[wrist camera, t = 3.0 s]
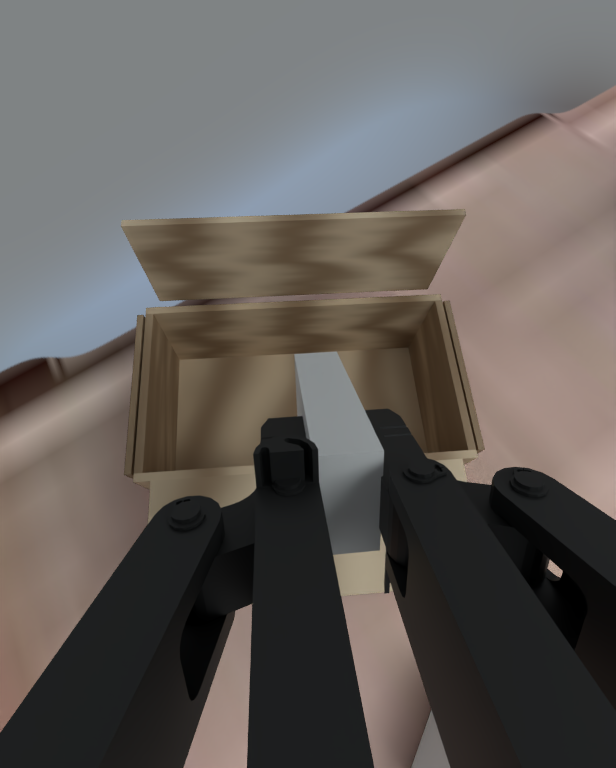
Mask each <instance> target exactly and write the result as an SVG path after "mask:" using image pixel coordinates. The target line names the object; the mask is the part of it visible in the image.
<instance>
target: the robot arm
mask: <svg viewBox="0 0 616 768" xmlns="http://www.w3.org/2000/svg"><path fill="white" fill-rule="evenodd" d="M294 358H295V378H296V399H297V416H294V417H280V418H268V419H267V421H266V422H265V423H264V424H263V426H262V427H261V440H260V444H259V445H258V446H257V447H256V448H255V450H254V453H253V459H254V469H255V479H256V489H255V491H254V492H253V493H252V494H250V495H249V496H248V497H246V498H245V499H243V500H241V501H239V502H237V503H234V504H231V505H228V506H225V507H222V508H220V505H219V503H218V502H216V501H215V500H213V499H212V498H210V497H205V496H200V495H198V496H186V497H183V498H179V499H176V500H174V501H172V502H170V503H168V504H166V505H165V506H163V507H162V508H161V509H160V510H159V511H158V512H157V513H156V514H155V515H154V516H153V518H152V519H151V521H150V522H149V523H148V525H147V526H146V528H145V529H144V531H143V532H142V533H141V535H140V536H139V538H138V539H137V540H136V542H135V543H134V545H133V546H132V548H131V549H130V550H129V552H128V553H127V555H126V556H125V557H124V559H123V560H122V562H121V563H120V564H119V566H118V567H117V569H116V570H115V572H114V573H113V574H112V576H111V577H110V579H109V580H108V581H107V583H106V584H105V586H104V587H103V589H102V590H101V591H100V593H99V594H98V596H97V597H96V598H95V600H94V601H93V603H92V604H91V605H90V607H89V608H88V610H87V611H86V613H85V614H84V615H83V617H82V618H81V620H80V621H79V622H78V624H77V625H76V627H75V628H74V630H73V631H72V632H71V634H70V635H69V637H68V638H67V639H66V641H65V642H64V644H63V645H62V646H61V648H60V649H59V651H58V652H57V654H56V655H55V656H54V658H53V659H52V661H51V662H50V663H49V665H48V666H47V668H46V669H45V671H44V672H43V673H42V675H41V676H40V678H39V679H38V680H37V682H36V683H35V685H34V686H33V687H32V689H31V690H30V692H29V693H28V695H27V696H26V697H25V699H24V700H23V702H22V703H21V704H20V706H19V707H18V709H17V710H16V712H15V713H14V714H13V716H12V717H11V719H10V720H9V721H8V723H7V724H6V726H5V727H4V728H3V730H2V731H1V733H0V768H183V767H184V764H185V761H186V758H187V755H188V752H189V749H190V746H191V743H192V740H193V738H194V735H195V732H196V729H197V726H198V723H199V720H200V717H201V714H202V711H203V708H204V705H205V702H206V699H207V696H208V694H209V691H210V688H211V685H212V682H213V679H214V676H215V673H216V670H217V667H218V664H219V661H220V658H221V655H222V652H223V649H224V647H225V644H226V641H227V638H228V635H229V632H230V629H231V626H232V623H233V620H234V616H235V610H238V609H240V608H243V607H245V606H248V605H250V604H252V603H253V605H252V635H251V665H250V695H249V725H248V755H247V768H374V764H373V759H372V754H371V749H370V743H369V738H368V733H367V728H366V723H365V718H364V712H363V707H362V702H361V697H360V692H359V686H358V681H357V676H356V671H355V666H354V661H353V655H352V650H351V645H350V640H349V635H348V629H347V624H346V619H345V614H344V609H343V604H342V598H341V593H340V588H339V583H338V578H337V572H336V567H335V562H334V557H333V555H337V554H347V553H358V552H368V551H379V550H380V537H381V535H382V538H383V541H384V544H385V547H386V554H385V574H384V593H389V591H390V583H391V586H392V589H393V592H394V595H395V598H396V601H397V604H398V608H399V611H400V614H401V617H402V620H403V623H404V626H405V629H406V632H407V635H408V638H409V641H410V645H411V648H412V651H413V654H414V657H415V660H416V663H417V666H418V669H419V672H420V675H421V679H422V682H423V685H424V688H425V691H426V694H427V697H428V700H429V703H430V706H431V709H432V712H433V716H434V719H435V722H436V725H437V728H438V731H439V734H440V737H441V740H442V743H443V746H444V749H445V753H446V756H447V759H448V762H449V765H450V768H616V520H614V519H613V518H611V517H610V516H608V515H607V514H605V513H604V512H602V511H601V510H599V509H598V508H596V507H595V506H593V505H592V504H591V503H589V502H588V501H586V500H585V499H583V498H582V497H580V496H579V495H577V494H576V493H574V492H573V491H571V490H570V489H568V488H567V487H565V486H564V485H562V484H561V483H559V482H558V481H556V480H555V479H553V478H551V477H549V476H548V475H546V474H544V473H542V472H538V471H535V470H532V469H529V468H522V467H511V468H504V469H502V470H499V471H497V472H496V473H495V475H494V477H493V479H492V485H486V484H478V483H470V482H464V481H459V480H456V478H455V477H454V475H453V474H452V472H451V471H450V470H449V469H448V468H447V467H446V466H445V465H443V464H441V463H439V462H437V461H435V460H432V459H428V458H427V457H426V456H425V454H424V452H423V451H422V449H421V448H420V446H419V444H418V443H417V441H416V440H415V438H414V437H413V435H411V432H410V430H409V429H408V427H406V424H405V422H404V421H403V419H402V418H401V416H400V415H398V414H396V413H395V412H393V411H392V410H390V409H388V408H387V409H373V410H364V408H363V406H362V404H361V401H360V399H359V397H358V395H357V393H356V391H355V389H354V387H353V385H352V383H351V381H350V378H349V376H348V374H347V372H346V370H345V368H344V366H343V364H342V362H341V360H340V358H339V355H338V353H337V352H320V353H304V354H294ZM549 560H551V561H552V562H553V563H555V564H556V565H557V566H558V567H559V568H560V569H561V570H563V573H562V576H561V578H560V577H557V576H556V575H554V574H553V573H552V572H551V571H550V570H548V569H547V568H548V564H549Z"/></svg>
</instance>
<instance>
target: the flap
mask: <svg viewBox="0 0 616 768" xmlns="http://www.w3.org/2000/svg"><path fill="white" fill-rule="evenodd" d="M465 216H466V213H465V209H457V210H426V211H395V212H364V213H337V214H336V213H334V214H304V215H272V216H244V217H243V216H242V217H213V218H212V217H211V218H181V219H149V220H122V222H121V227H122V229H123V231H124V233H125V235H126V237H127V239H128V241H129V242H130V244H131V246H132V248H133V250H134V252H135V254H136V256H137V258H138V260H139V262H140V264H141V266H142V268H143V269H144V271H145V273H146V275H147V277H148V279H149V281H150V283H151V285H152V287H153V289H154V291H155V293H156V294H157V296H158V298H159V300H160V301H171V300H195V299H218V298H240V297H262V296H285V295H307V294H329V293H352V292H374V291H396V290H419V289H428V287H429V285H430V283H431V282H432V280H433V278H434V276H435V274H436V272H437V270H438V268H439V266H440V264H441V262H442V260H443V258H444V256H445V254H446V252H447V251H448V249H449V247H450V245H451V243H452V241H453V239H454V237H455V235H456V233H457V231H458V229H459V227H460V225H461V223H462V222H463V220H464V218H465Z"/></svg>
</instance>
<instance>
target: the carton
mask: <svg viewBox="0 0 616 768" xmlns="http://www.w3.org/2000/svg"><path fill="white" fill-rule="evenodd" d="M320 352H337V353H338V355H339V358H340V360H341V362H342V364H343V366H344V368H345V370H346V372H347V374H348V376H349V378H350V381H351V383H352V385H353V387H354V389H355V391H356V393H357V395H358V397H359V399H360V401H361V404H362V406H363V408H364V410H373V409H387V408H388V409H390V410H392V411H393V412H395V413H396V414H398V415H400V416H401V418H402V419H403V421H404V422H405V424H406V427H408V429H409V430H410V432H411V435H413V437H414V438H415V440H416V441H417V443H418V444H419V446H420V448H421V449H422V451H423V452H424V454H425V456H426V457H427V458H428V459H432V460H435V461H437V462H439V463H441V464H443V465H445V466H446V467H447V468H448V469H449V470H450V471H451V472H452V474H453V475H454V477H455V478H456V480H459V481H464V482H467V478H466V473H465V468H464V464H466V463H468V462H470V461H472V460H474V459H476V458H478V455H477V453H479V452H481V451H483V450H484V449H485V448H484V444H483V440H482V436H481V431H480V427H479V423H478V419H477V414H476V410H475V406H474V402H473V398H472V393H471V389H470V385H469V381H468V377H467V372H466V368H465V364H464V360H463V356H462V351H461V347H460V343H459V339H458V334H457V330H456V326H455V322H454V318H453V313H452V309H451V305H450V301H444V302H443V303H442V299H441V294H438V295H416V296H394V297H372V298H350V299H328V300H306V301H284V302H263V303H241V304H219V305H197V306H175V307H155V308H154V307H153V308H146V318H145V317H144V315H138V316H137V326H136V338H135V350H134V362H133V374H132V386H131V398H130V410H129V422H128V434H127V446H126V458H125V470H124V475H126V476H128V477H130V478H132V479H133V482H134V483H136V484H138V485H141V486H143V487H145V488H147V489H149V490H150V496H149V512H148V523H149V522H150V521H151V519H152V518H153V516H154V515H155V514H156V513H157V512H158V511H159V510H160V509H161V508H162V507H163V506H165V505H166V504H168V503H170V502H172V501H174V500H176V499H179V498H183V497H186V496H198V495H200V496H205V497H210V498H212V499H213V500H215V501H216V502H218V503H219V505H220V508H222V507H225V506H228V505H231V504H234V503H237V502H239V501H241V500H243V499H245V498H246V497H248V496H249V495H250V494H252V493H253V492H254V491H255V489H256V479H255V469H254V459H253V453H254V450H255V448H256V447H257V446H258V445H259V444H260V440H261V427H262V426H263V424H264V423H265V422H266V421H267V419H268V418H280V417H294V416H297V399H296V378H295V358H294V354H304V353H320ZM385 554H386V547H385V544H384V541H383V538H382V535H381V537H380V550H379V551H368V552H358V553H347V554H337V555H333V557H334V562H335V567H336V572H337V578H338V583H339V588H340V593H341V596H348V595H359V594H370V593H381V592H384V574H385ZM392 591H393V589H392V586H391V583H390V591H389V592H392ZM252 604H253V603H252Z"/></svg>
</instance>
